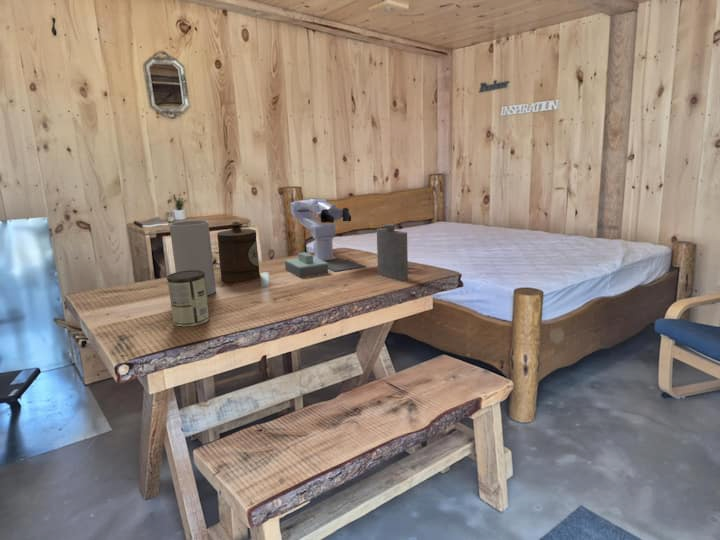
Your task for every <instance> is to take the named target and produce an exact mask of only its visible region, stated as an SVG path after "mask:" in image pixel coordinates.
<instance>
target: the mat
mask: <svg viewBox="0 0 720 540" xmlns="http://www.w3.org/2000/svg"><path fill="white" fill-rule="evenodd" d="M326 262H327V261H326ZM327 263H328V270H330V271H332V272H334V273H337V272H343V271H349V270H355V269H361V268H366V267H367V266H366V265H364V264H362V263H359V262H356V261H353V260H351V259H349V258H348V259H342V260H341V259H339V260H335V261H329V262H327Z"/></svg>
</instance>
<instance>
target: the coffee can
mask: <svg viewBox="0 0 720 540" xmlns="http://www.w3.org/2000/svg"><path fill="white" fill-rule="evenodd" d="M204 275H205V272H203V271H200V270H188V271H181V272H176V271H175V272H173V273H169V275H167V276H166V280H167V286H168V291H169V301H170V306H171V313H172V321H173V325H174V326H175V327H179V326H182V327H181V328H183V327H184V328H186V327H188V326H189V327H194V326H200V325H203V324H204V323H207V322H208V321H210V320H211V317H210V309H209V302H208V296H207V293H206V284H205V276H204Z"/></svg>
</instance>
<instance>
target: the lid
mask: <svg viewBox="0 0 720 540" xmlns="http://www.w3.org/2000/svg"><path fill="white" fill-rule="evenodd" d="M297 254H298V256H297V257H298V258H297V257H295V258H290V259H285V260H284V263H285V262H287V263H289V264H291V265H293V266H295V267H297V268H299V269H302V268H308V267H315V266H321V265H328V263H327V261H322V260H320V259H317V258H315V257H314V255H313V254H311V253H308V252H305V251H303V252H298V253H297Z"/></svg>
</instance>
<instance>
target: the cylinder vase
mask: <svg viewBox="0 0 720 540" xmlns="http://www.w3.org/2000/svg"><path fill="white" fill-rule="evenodd" d="M209 226H210V225H209V221H208V220H203V219H201V220H200V219H199V220H198V219H197V220H196V219H194V220H183V221H175V222H172V223H169V232H170V233H169V234H170V240H171V245H172V247H171V248H172V254H173V255H172V256H173V263H174V269H175V273H176V272H181V271H188V270H200V271H203V272H205V275H204V276H205V284H206V293H207V297H208V295H209V296H211V295H213V294H214V293H216V292H217V291H216V290H217V288H216V278H215V269H214V261H213V260H214V259H213V250H212V241H211V235H210V227H209Z"/></svg>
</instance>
